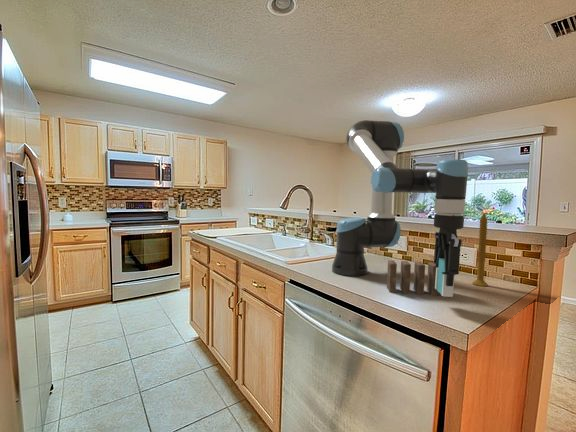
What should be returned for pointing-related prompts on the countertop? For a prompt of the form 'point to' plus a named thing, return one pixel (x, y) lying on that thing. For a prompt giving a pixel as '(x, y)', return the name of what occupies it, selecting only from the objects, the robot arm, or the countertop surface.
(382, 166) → the robot arm
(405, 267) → the domino
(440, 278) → the domino
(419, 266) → the domino
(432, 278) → the domino
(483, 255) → the candlestick
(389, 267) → the domino
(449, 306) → the countertop surface
